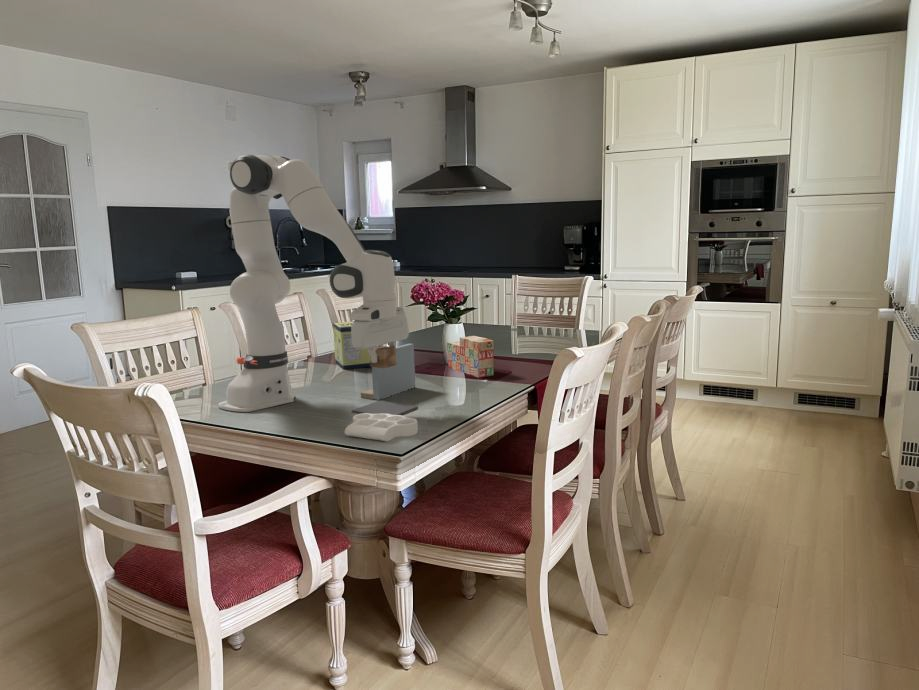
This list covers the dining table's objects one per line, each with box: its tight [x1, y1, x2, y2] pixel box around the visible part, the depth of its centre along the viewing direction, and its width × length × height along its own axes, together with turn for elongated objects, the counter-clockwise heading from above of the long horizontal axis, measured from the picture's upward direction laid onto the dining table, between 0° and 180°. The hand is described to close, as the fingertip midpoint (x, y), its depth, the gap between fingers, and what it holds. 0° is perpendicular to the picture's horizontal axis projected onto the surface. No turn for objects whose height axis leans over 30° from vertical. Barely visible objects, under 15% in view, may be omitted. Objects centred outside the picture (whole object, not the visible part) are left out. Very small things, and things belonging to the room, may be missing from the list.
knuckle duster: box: [344, 413, 419, 442], centre depth 168 cm, size 3×18×15 cm
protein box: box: [332, 321, 371, 370], centre depth 252 cm, size 10×16×16 cm
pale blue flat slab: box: [360, 343, 416, 401], centre depth 207 cm, size 18×7×14 cm, turn 147°
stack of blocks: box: [446, 335, 495, 378], centre depth 235 cm, size 21×6×12 cm, turn 30°
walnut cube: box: [370, 345, 396, 368], centre depth 185 cm, size 5×5×5 cm
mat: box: [351, 400, 419, 416], centre depth 187 cm, size 12×14×1 cm
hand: (383, 360), depth 185 cm, fingers closed on walnut cube, 5 cm apart
